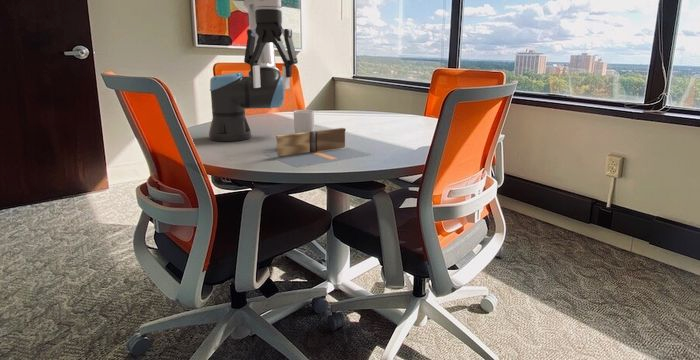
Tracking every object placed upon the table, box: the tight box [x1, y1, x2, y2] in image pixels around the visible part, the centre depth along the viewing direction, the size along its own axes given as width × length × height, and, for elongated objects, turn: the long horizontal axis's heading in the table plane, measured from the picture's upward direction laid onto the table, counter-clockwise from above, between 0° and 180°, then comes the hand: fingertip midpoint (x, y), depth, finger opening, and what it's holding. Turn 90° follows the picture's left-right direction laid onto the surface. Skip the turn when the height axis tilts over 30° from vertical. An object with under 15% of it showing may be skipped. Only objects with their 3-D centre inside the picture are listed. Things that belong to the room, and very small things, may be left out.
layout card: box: [262, 146, 373, 168], centre depth 143 cm, size 21×27×1 cm
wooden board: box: [275, 132, 310, 156], centre depth 141 cm, size 11×2×6 cm, turn 126°
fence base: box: [309, 127, 346, 153], centre depth 148 cm, size 2×13×6 cm, turn 126°
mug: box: [293, 109, 315, 133], centre depth 156 cm, size 10×7×12 cm, turn 13°
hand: (271, 88), depth 139 cm, fingers open, 9 cm apart
